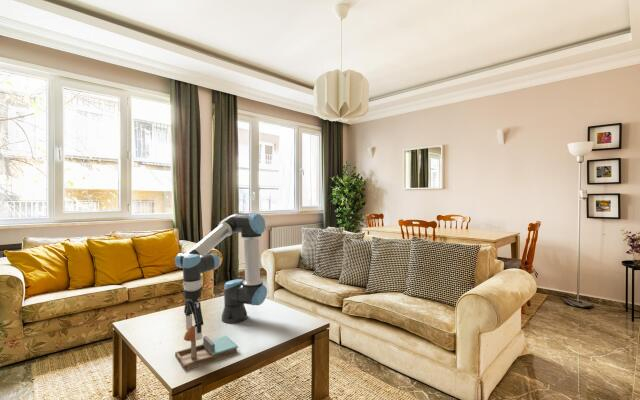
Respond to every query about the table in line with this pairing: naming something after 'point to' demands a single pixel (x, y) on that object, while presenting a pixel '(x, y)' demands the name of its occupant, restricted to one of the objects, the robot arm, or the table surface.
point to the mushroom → (191, 337)
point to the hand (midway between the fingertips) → (193, 334)
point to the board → (199, 356)
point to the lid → (219, 344)
